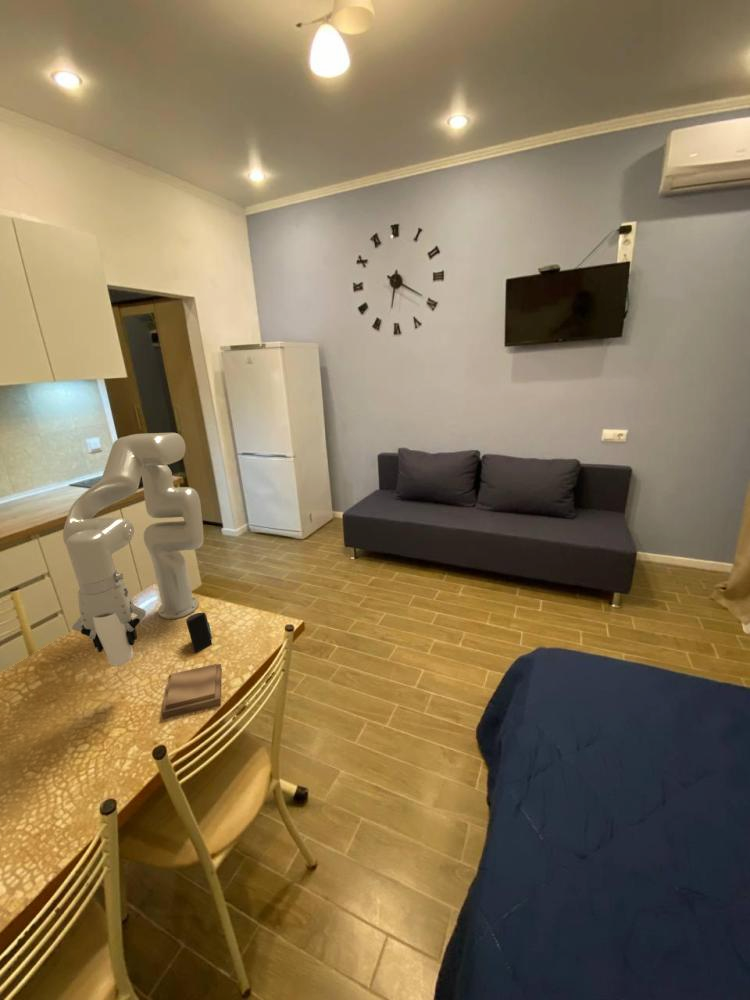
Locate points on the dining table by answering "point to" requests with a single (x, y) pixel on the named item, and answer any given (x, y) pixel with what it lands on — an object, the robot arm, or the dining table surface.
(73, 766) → the dining table surface
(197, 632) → the speaker
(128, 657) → the drinking glass
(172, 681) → the pedestal
